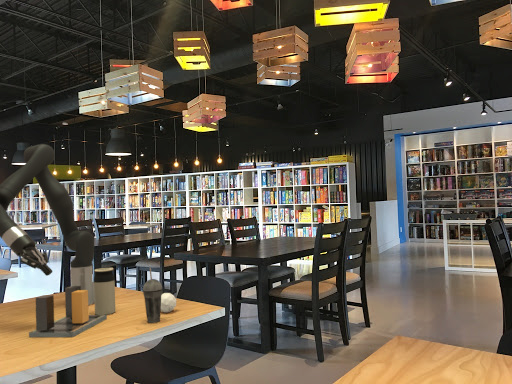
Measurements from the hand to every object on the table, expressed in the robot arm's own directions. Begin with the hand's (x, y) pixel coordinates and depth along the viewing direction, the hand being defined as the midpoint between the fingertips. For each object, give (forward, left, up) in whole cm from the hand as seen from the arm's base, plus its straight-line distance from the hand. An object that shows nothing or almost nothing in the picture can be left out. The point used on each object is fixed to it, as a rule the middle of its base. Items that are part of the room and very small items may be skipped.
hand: (49, 273), depth 155 cm
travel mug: (-23, -1, -20) cm, 30 cm away
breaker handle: (-6, +10, -18) cm, 21 cm away
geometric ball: (-37, +21, -20) cm, 47 cm away
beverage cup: (-25, +28, -20) cm, 42 cm away
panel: (-4, +7, -20) cm, 21 cm away
